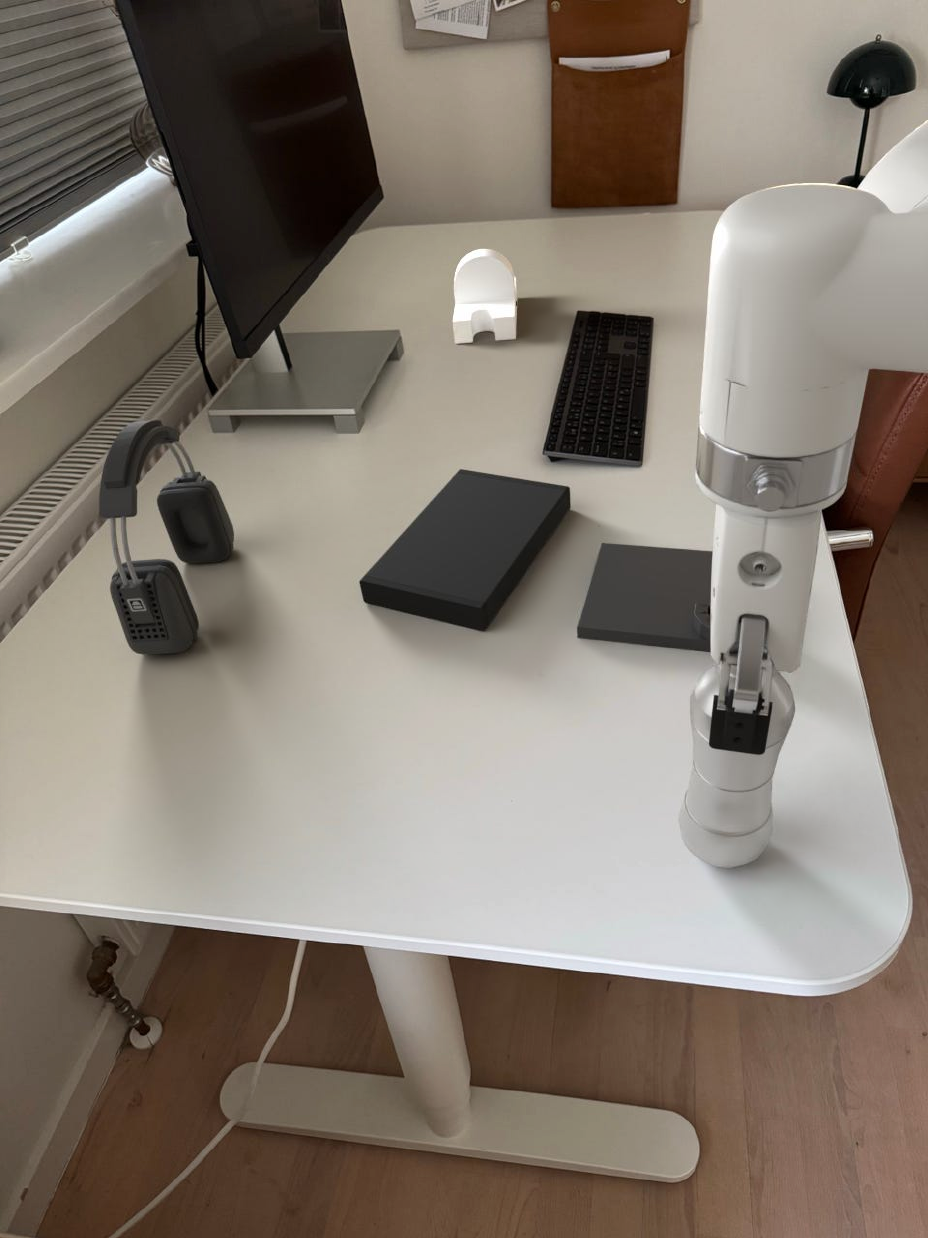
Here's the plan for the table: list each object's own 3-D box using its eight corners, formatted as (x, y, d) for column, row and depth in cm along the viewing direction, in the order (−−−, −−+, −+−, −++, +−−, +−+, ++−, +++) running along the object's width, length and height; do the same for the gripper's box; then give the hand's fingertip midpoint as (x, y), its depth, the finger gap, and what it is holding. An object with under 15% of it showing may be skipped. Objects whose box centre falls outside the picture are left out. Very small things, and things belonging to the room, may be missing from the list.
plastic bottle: (661, 823, 68) (672, 625, 56) (740, 797, 70) (769, 597, 57) (703, 892, 64) (725, 692, 51) (787, 862, 65) (830, 659, 52)
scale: (760, 565, 91) (763, 541, 89) (754, 659, 81) (757, 634, 79) (601, 553, 96) (601, 530, 94) (576, 640, 86) (575, 616, 84)
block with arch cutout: (516, 339, 142) (510, 268, 135) (455, 343, 143) (447, 274, 136) (517, 297, 156) (512, 231, 149) (461, 302, 157) (454, 237, 150)
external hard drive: (363, 602, 94) (358, 580, 92) (461, 489, 109) (459, 468, 107) (485, 632, 88) (482, 608, 86) (570, 508, 103) (570, 486, 101)
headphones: (190, 663, 89) (120, 492, 77) (130, 666, 90) (50, 498, 77) (241, 536, 106) (190, 379, 94) (190, 540, 107) (133, 384, 94)
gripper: (857, 559, 38) (802, 809, 49) (846, 380, 51) (804, 612, 62) (679, 545, 40) (664, 788, 51) (710, 377, 53) (693, 601, 64)
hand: (740, 692), depth 57 cm, fingers open, 9 cm apart
